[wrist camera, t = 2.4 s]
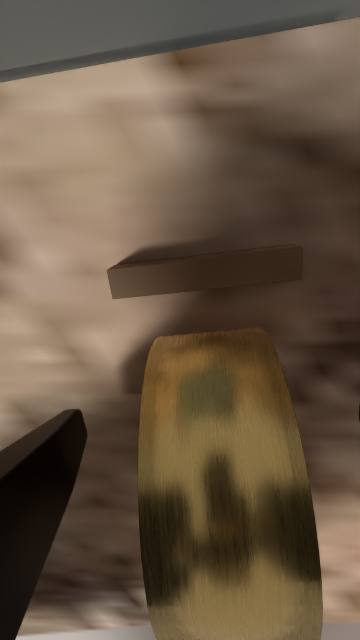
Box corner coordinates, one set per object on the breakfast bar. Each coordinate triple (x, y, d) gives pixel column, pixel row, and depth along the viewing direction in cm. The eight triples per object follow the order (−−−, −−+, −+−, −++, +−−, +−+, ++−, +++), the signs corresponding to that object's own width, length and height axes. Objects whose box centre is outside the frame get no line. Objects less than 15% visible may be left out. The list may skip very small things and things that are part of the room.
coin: (255, 457, 11) (315, 727, 5) (188, 461, 11) (177, 722, 5) (247, 296, 9) (333, 457, 3) (165, 304, 9) (110, 467, 3)
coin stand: (293, 486, 11) (300, 506, 10) (157, 491, 12) (154, 511, 11) (293, 244, 8) (302, 247, 8) (114, 265, 9) (106, 270, 8)
